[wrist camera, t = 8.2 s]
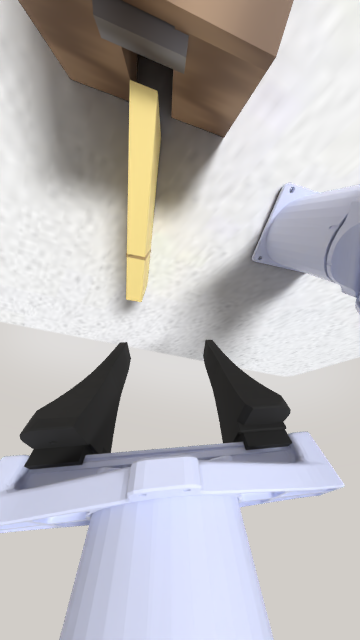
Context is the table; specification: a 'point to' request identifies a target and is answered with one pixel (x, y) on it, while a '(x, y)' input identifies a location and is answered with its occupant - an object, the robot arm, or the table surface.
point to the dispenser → (168, 48)
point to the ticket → (141, 184)
